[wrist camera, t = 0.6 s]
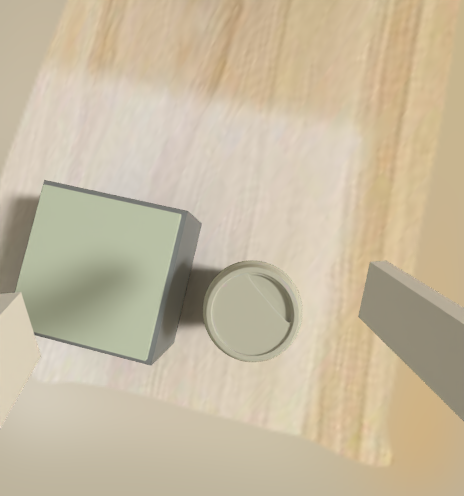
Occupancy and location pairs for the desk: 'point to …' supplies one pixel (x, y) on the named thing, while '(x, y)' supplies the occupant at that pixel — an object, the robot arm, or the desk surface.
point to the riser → (107, 271)
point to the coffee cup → (252, 311)
